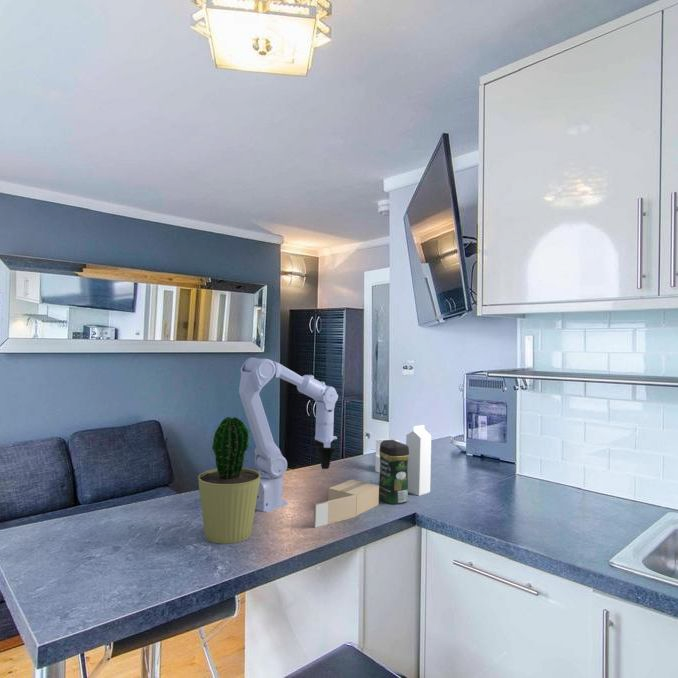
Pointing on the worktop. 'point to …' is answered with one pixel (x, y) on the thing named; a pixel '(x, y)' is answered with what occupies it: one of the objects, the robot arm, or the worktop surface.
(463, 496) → the worktop surface
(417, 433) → the milk
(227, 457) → the potted cactus
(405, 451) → the coffee jar
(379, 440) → the cylinder with rectangular tab
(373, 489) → the carton
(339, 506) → the beige rectangular panel
